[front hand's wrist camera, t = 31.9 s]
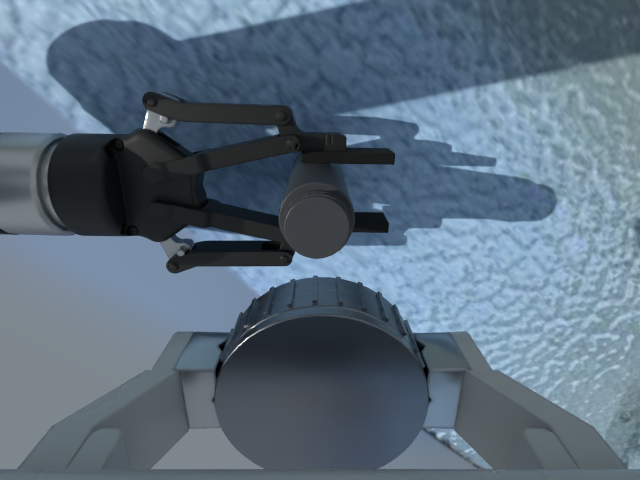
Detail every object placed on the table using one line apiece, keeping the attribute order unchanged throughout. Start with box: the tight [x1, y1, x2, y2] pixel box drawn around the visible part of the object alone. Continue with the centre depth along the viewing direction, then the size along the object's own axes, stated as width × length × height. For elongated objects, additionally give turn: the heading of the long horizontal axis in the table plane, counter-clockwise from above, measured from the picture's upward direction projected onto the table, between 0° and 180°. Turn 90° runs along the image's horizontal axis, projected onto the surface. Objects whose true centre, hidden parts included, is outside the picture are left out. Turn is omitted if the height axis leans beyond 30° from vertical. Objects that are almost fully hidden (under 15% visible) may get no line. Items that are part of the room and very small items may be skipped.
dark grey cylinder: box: [279, 153, 355, 259], centre depth 27 cm, size 4×4×16 cm
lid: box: [214, 276, 429, 469], centre depth 9 cm, size 5×5×2 cm
